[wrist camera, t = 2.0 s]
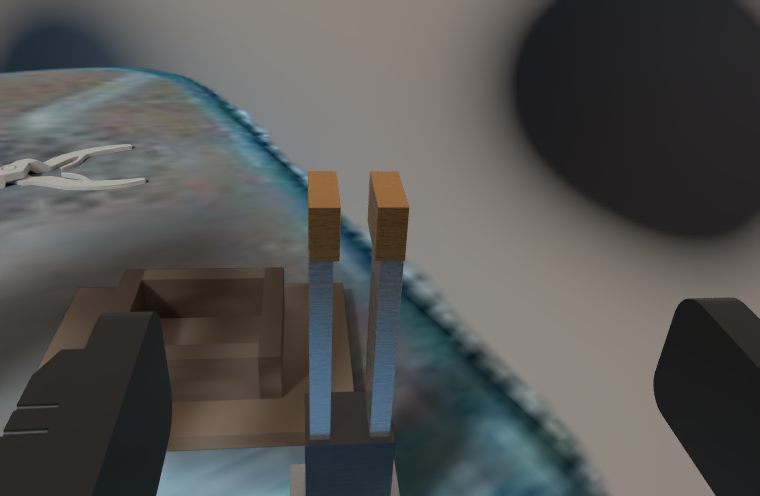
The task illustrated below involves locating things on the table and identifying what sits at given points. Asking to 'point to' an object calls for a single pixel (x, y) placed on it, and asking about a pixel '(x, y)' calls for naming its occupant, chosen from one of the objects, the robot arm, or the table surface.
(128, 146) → the pliers
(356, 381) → the table surface
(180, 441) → the stand
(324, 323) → the tongs
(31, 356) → the table surface
